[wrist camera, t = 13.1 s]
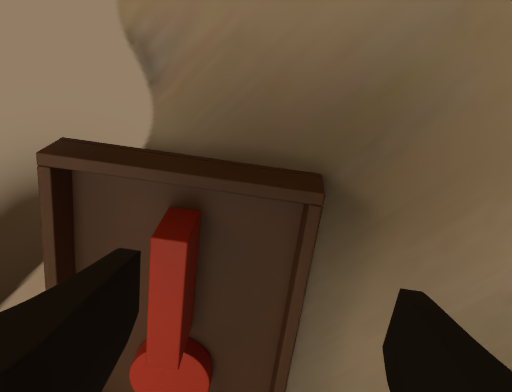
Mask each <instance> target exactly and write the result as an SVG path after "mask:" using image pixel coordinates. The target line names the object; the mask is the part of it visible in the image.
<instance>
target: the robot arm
mask: <svg viewBox="0 0 512 392" xmlns="http://www.w3.org/2000/svg"><path fill="white" fill-rule="evenodd" d="M140 266H141V251H139V250H132V249H125V248H118V249H116V250H114V251H112V252H111V253H109V254H107V255H106V256H104V257H103V258H101V259H99V260H98V261H96V262H95V263H93V264H91V265H90V266H88V267H86V268H85V269H83V270H81V271H80V272H78V273H76V274H75V275H73V276H71V277H70V278H68V279H66V280H65V281H63V282H61V283H59V284H57V285H55V286H53V287H52V288H50V289H48V290H46V291H44V292H42V293H40V294H39V295H37V296H35V297H33V298H31V299H29V300H27V301H25V302H22V303H20V304H18V305H16V306H14V307H11V308H9V309H7V310H4V311H2V312H0V392H102V390H103V388H104V386H105V385H106V383H107V381H108V379H109V377H110V375H111V373H112V371H113V370H114V368H115V366H116V364H117V362H118V360H119V358H120V356H121V354H122V352H123V351H124V349H125V347H126V345H127V343H128V340H129V337H130V335H131V332H132V330H133V327H134V324H135V321H136V319H137V316H138V313H139V300H140ZM383 355H384V363H385V370H386V376H387V382H388V386H389V390H390V392H512V371H511V370H510V369H508V368H507V367H506V366H505V365H504V364H502V363H501V362H500V361H499V360H498V359H496V358H495V357H494V356H493V355H492V354H490V353H489V352H488V351H487V350H486V349H485V348H484V347H482V346H481V345H480V344H479V343H478V342H477V341H476V340H475V339H473V338H472V337H471V336H470V335H469V334H468V333H467V332H466V331H465V330H464V329H463V328H461V327H460V326H459V325H458V324H457V323H456V322H455V321H454V320H453V319H452V318H451V317H450V316H449V315H448V314H447V313H446V312H445V311H444V310H442V309H441V308H440V307H439V306H438V305H437V304H436V303H435V302H434V301H433V300H432V299H431V298H429V297H428V296H427V295H426V294H425V293H423V292H421V291H414V290H407V289H400V291H399V294H398V297H397V301H396V304H395V307H394V311H393V314H392V317H391V320H390V324H389V327H388V330H387V334H386V337H385V340H384V344H383Z"/></svg>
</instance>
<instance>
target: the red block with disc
mask: <svg viewBox="0 0 512 392" xmlns="http://www.w3.org/2000/svg"><path fill="white" fill-rule="evenodd" d="M200 223H201V211H197V210H190V209H183V208H176V207H169V208H168V209H167V211H166V213H165V214H164V216H163V218H162V219H161V221H160V223H159V224H158V226H157V228H156V229H155V231H154V233H153V234H152V236H151V238H150V260H149V286H148V313H147V340H146V341H145V342H144V343H143V344H142V345H141V346H140V348H139V349H138V351H137V353H136V355H135V358H134V360H133V362H132V365H131V367H130V372H129V377H130V382H131V385H132V387H133V389H134V391H135V392H208V391H209V387H210V382H211V377H212V372H213V365H212V361H211V358H210V356H209V354H208V353H207V351H206V350H205V349H204V348H203V347H202V346H201V345H200V344H198V343H197V342H196V341H194V340H192V339H190V338H188V337H189V334H190V330H191V327H192V316H193V304H194V293H195V281H196V269H197V258H198V246H199V235H200Z"/></svg>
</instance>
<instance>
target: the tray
mask: <svg viewBox="0 0 512 392" xmlns="http://www.w3.org/2000/svg"><path fill="white" fill-rule="evenodd" d="M36 155H37V156H36V157H37V165H38V166H37V170H38V185H39V199H40V214H41V229H42V243H43V258H44V272H45V287H46V290H48V289H50V288H52V287H53V286H55V285H57V284H59V283H61V282H63V281H65V280H66V279H68V278H70V277H71V276H73V275H75V274H76V273H78V272H80V271H81V270H83V269H85V268H86V267H88V266H90V265H91V264H93V263H95V262H96V261H98V260H99V259H101V258H103V257H104V256H106V255H107V254H109V253H111V252H112V251H114V250H116V249H118V248H125V249H132V250H139V251H141V266H140V300H139V313H138V316H137V319H136V321H135V324H134V327H133V330H132V332H131V335H130V337H129V340H128V343H127V345H126V347H125V349H124V351H123V352H122V354H121V356H120V358H119V360H118V362H117V364H116V366H115V368H114V370H113V371H112V373H111V375H110V377H109V379H108V381H107V383H106V385H105V386H104V388H103V390H102V392H135V391H134V389H133V387H132V385H131V382H130V377H129V372H130V367H131V365H132V362H133V360H134V358H135V355H136V353H137V351H138V349H139V348H140V346H141V345H142V344H143V343H144V342H145V341H146V340H147V313H148V286H149V260H150V238H151V236H152V234H153V233H154V231H155V229H156V228H157V226H158V224H159V223H160V221H161V219H162V218H163V216H164V214H165V213H166V211H167V209H168V208H169V207H176V208H183V209H190V210H197V211H201V223H200V235H199V246H198V258H197V269H196V281H195V293H194V304H193V316H192V327H191V330H190V334H189V337H188V338H190V339H192V340H194V341H196V342H197V343H198V344H200V345H201V346H202V347H203V348H204V349H205V350H206V351H207V353H208V354H209V356H210V358H211V361H212V365H213V372H212V377H211V382H210V387H209V391H208V392H285V390H286V385H287V380H288V375H289V370H290V365H291V360H292V355H293V350H294V345H295V340H296V336H297V331H298V326H299V321H300V316H301V311H302V306H303V301H304V296H305V291H306V286H307V282H308V277H309V272H310V267H311V262H312V257H313V252H314V247H315V242H316V237H317V233H318V228H319V223H320V218H321V213H322V208H323V207H322V206H323V203H324V198H325V191H324V186H323V181H322V175H321V174H317V173H310V172H303V171H296V170H288V169H281V168H274V167H267V166H260V165H253V164H246V163H239V162H232V161H225V160H218V159H211V158H204V157H197V156H190V155H183V154H176V153H169V152H162V151H155V150H148V149H141V148H134V147H127V146H120V145H113V144H106V143H99V142H92V141H85V140H78V139H71V138H63V137H62V138H60V139H59V140H57V141H55V142H54V143H52V144H50V145H49V146H47V147H45V148H43V149H42V150H40V151H38V152H37V153H36Z"/></svg>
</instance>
